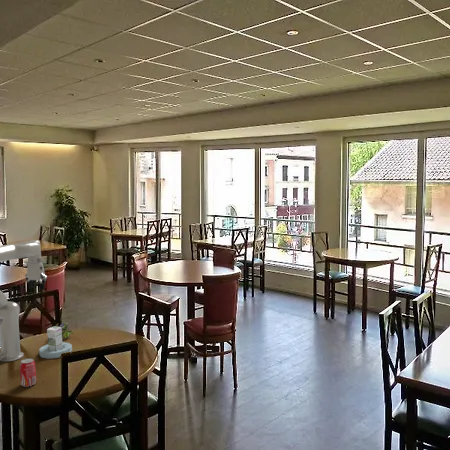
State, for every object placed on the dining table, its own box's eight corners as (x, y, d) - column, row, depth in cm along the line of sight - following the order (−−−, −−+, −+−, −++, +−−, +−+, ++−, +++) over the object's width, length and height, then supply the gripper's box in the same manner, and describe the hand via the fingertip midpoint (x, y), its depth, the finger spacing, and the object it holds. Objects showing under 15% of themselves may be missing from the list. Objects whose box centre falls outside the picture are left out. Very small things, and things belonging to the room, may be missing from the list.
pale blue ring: (56, 360, 259) (55, 354, 259) (33, 355, 267) (32, 350, 266) (78, 349, 275) (77, 344, 274) (55, 345, 282) (55, 340, 282)
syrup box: (63, 351, 272) (61, 326, 271) (56, 355, 267) (54, 329, 265) (55, 350, 274) (53, 325, 273) (48, 354, 269) (46, 329, 267)
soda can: (23, 381, 232) (22, 358, 231) (38, 381, 233) (37, 357, 232) (18, 388, 225) (17, 363, 224) (34, 387, 226) (32, 362, 225)
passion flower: (58, 346, 297) (54, 328, 302) (75, 340, 300) (71, 322, 305) (55, 341, 287) (51, 322, 292) (73, 335, 290) (69, 317, 295)
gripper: (50, 260, 285) (52, 288, 286) (29, 259, 292) (31, 286, 294) (40, 263, 278) (42, 291, 280) (19, 261, 285) (21, 289, 287)
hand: (36, 289), depth 287 cm, fingers open, 9 cm apart
